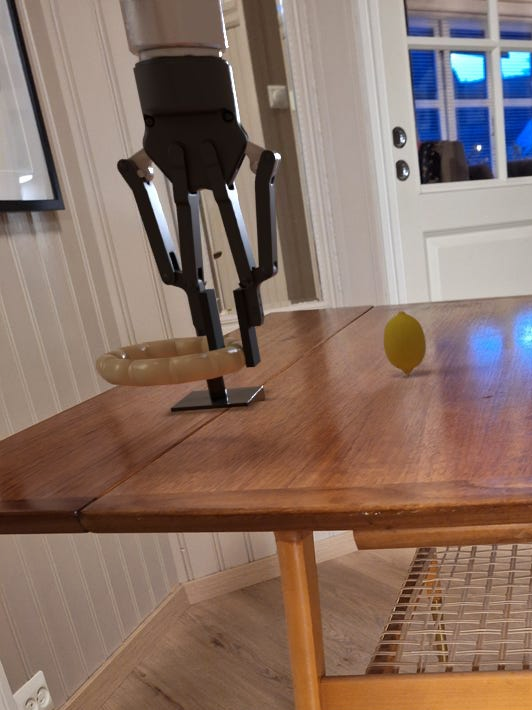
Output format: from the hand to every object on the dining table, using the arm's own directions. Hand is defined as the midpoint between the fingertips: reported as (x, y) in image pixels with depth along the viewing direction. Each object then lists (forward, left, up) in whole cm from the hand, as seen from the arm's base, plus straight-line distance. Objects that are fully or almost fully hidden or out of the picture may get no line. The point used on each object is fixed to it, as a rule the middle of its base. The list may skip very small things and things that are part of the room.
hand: (237, 365), depth 79 cm
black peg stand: (-9, +24, -9) cm, 27 cm away
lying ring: (-6, 0, +1) cm, 6 cm away
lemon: (+13, +37, -9) cm, 40 cm away
